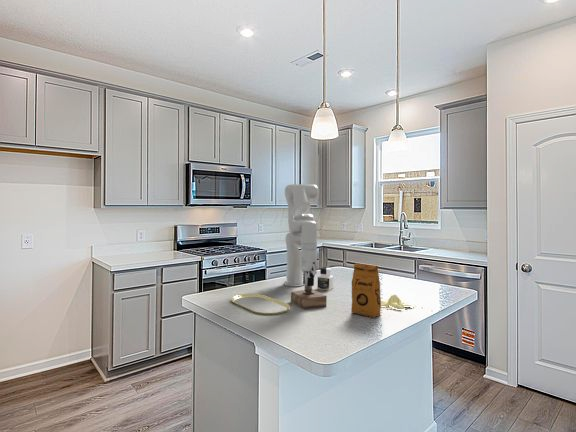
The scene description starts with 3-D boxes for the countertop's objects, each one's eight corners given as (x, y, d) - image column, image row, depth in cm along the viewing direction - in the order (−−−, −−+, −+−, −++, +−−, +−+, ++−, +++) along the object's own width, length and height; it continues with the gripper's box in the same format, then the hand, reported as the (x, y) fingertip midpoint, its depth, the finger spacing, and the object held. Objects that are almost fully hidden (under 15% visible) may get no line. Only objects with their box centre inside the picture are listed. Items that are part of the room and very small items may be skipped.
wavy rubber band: (264, 319, 146) (264, 315, 146) (224, 300, 173) (224, 297, 173) (298, 311, 157) (298, 307, 157) (256, 295, 185) (256, 292, 185)
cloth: (363, 305, 167) (364, 293, 167) (387, 299, 179) (387, 287, 179) (404, 317, 150) (405, 303, 150) (427, 310, 161) (428, 297, 161)
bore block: (290, 301, 171) (290, 291, 171) (312, 298, 176) (312, 289, 176) (303, 309, 159) (303, 298, 158) (326, 306, 164) (326, 295, 164)
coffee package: (374, 320, 145) (375, 267, 144) (348, 314, 152) (348, 264, 152) (384, 314, 152) (385, 264, 152) (358, 308, 160) (359, 261, 160)
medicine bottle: (317, 289, 198) (317, 268, 198) (321, 286, 204) (322, 266, 204) (329, 290, 195) (329, 269, 194) (333, 288, 201) (333, 267, 200)
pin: (303, 290, 168) (303, 270, 168) (309, 290, 170) (310, 269, 169) (306, 292, 165) (306, 271, 165) (313, 291, 166) (313, 271, 166)
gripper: (294, 245, 173) (293, 282, 173) (310, 249, 158) (309, 289, 158) (307, 244, 176) (307, 280, 176) (324, 248, 161) (323, 288, 161)
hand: (308, 284), depth 167 cm, fingers closed on pin, 3 cm apart
